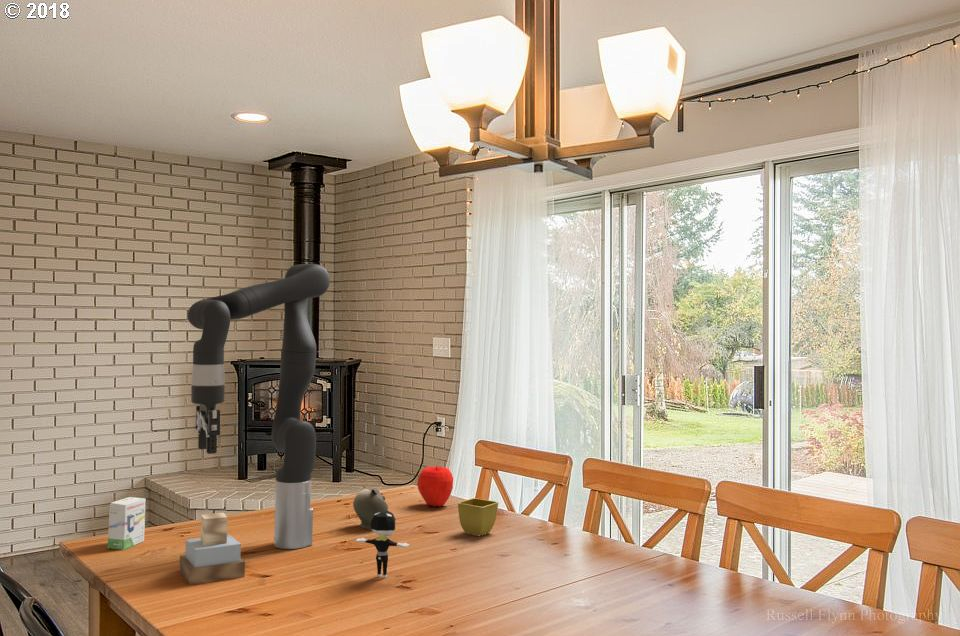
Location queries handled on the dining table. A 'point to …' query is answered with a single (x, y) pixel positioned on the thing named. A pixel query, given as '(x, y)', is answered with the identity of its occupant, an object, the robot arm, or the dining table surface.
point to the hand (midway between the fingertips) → (207, 451)
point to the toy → (382, 539)
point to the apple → (435, 485)
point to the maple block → (213, 529)
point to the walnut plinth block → (211, 571)
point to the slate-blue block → (212, 552)
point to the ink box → (126, 523)
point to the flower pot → (477, 515)
